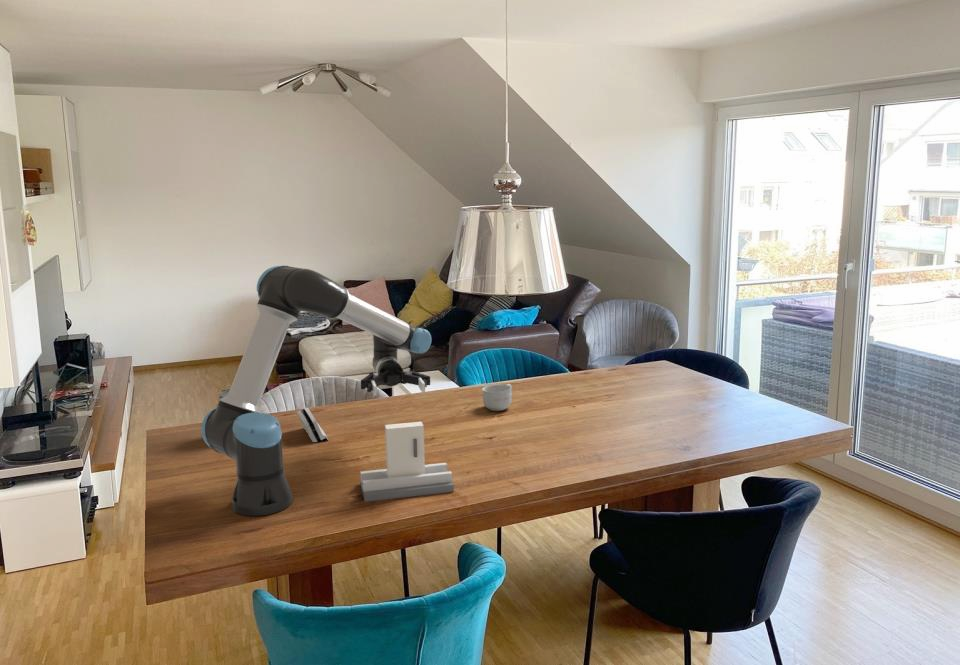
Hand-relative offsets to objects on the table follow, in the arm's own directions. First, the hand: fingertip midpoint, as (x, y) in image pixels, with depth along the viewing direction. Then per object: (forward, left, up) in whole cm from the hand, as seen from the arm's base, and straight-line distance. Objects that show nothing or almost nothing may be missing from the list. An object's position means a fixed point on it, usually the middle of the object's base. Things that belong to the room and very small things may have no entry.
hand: (399, 389), depth 215 cm
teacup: (+67, -12, -25) cm, 73 cm away
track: (-9, -5, -25) cm, 27 cm away
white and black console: (+24, +41, -26) cm, 54 cm away
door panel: (-9, -5, -23) cm, 25 cm away
